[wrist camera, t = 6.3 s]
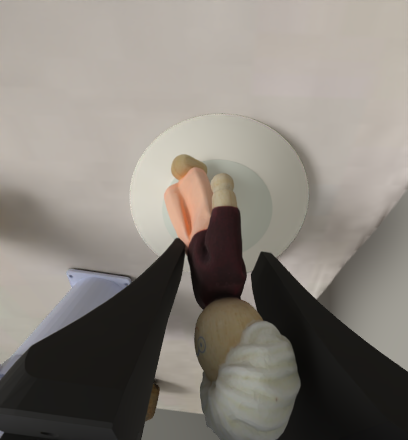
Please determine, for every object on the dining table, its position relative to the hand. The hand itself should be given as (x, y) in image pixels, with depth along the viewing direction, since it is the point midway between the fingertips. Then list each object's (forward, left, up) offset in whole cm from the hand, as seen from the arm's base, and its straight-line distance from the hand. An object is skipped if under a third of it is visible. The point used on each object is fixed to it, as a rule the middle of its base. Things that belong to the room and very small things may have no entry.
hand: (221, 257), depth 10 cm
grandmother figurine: (+2, +3, -5) cm, 6 cm away
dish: (0, 0, -7) cm, 7 cm away
